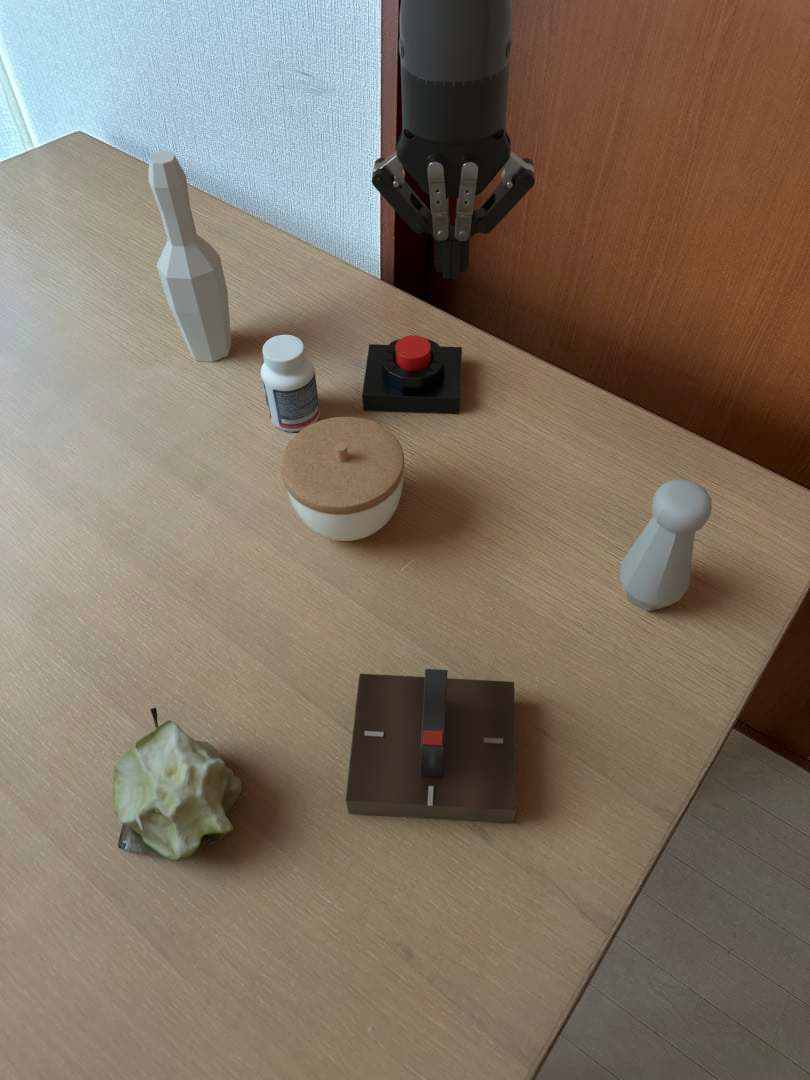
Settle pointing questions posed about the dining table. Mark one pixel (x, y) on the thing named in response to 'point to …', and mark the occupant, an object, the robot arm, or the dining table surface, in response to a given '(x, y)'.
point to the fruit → (172, 794)
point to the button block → (412, 381)
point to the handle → (433, 723)
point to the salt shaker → (665, 546)
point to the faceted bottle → (189, 266)
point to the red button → (413, 353)
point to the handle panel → (469, 751)
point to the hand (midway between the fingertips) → (451, 272)
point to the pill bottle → (289, 384)
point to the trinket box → (344, 477)
